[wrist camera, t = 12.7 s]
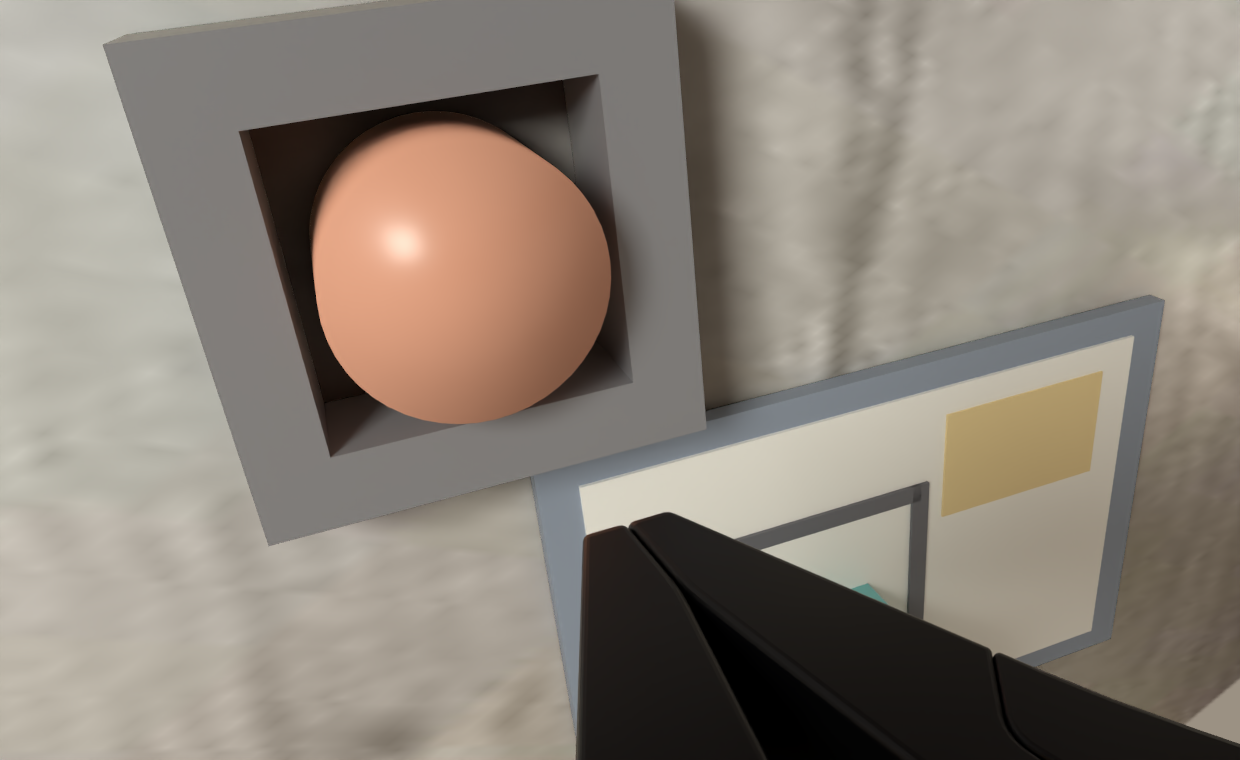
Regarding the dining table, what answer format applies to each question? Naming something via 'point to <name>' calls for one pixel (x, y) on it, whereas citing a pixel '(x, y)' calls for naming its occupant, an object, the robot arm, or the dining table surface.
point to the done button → (455, 268)
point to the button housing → (386, 77)
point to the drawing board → (911, 483)
